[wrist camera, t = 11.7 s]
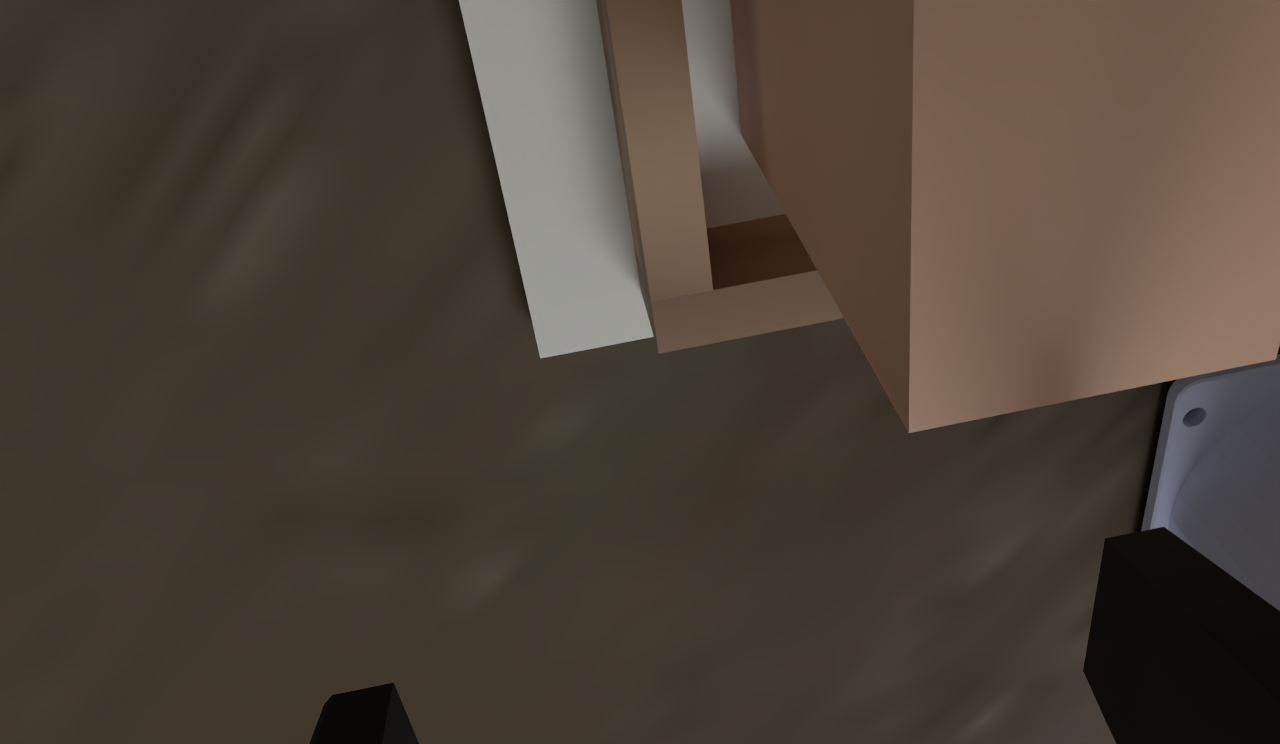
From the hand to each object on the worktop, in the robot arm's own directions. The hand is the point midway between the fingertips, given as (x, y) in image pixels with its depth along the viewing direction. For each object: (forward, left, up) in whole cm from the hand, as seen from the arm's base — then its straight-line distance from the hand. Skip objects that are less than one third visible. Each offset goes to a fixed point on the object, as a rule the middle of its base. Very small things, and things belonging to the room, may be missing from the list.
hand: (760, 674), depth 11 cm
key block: (+5, -4, -9) cm, 11 cm away
